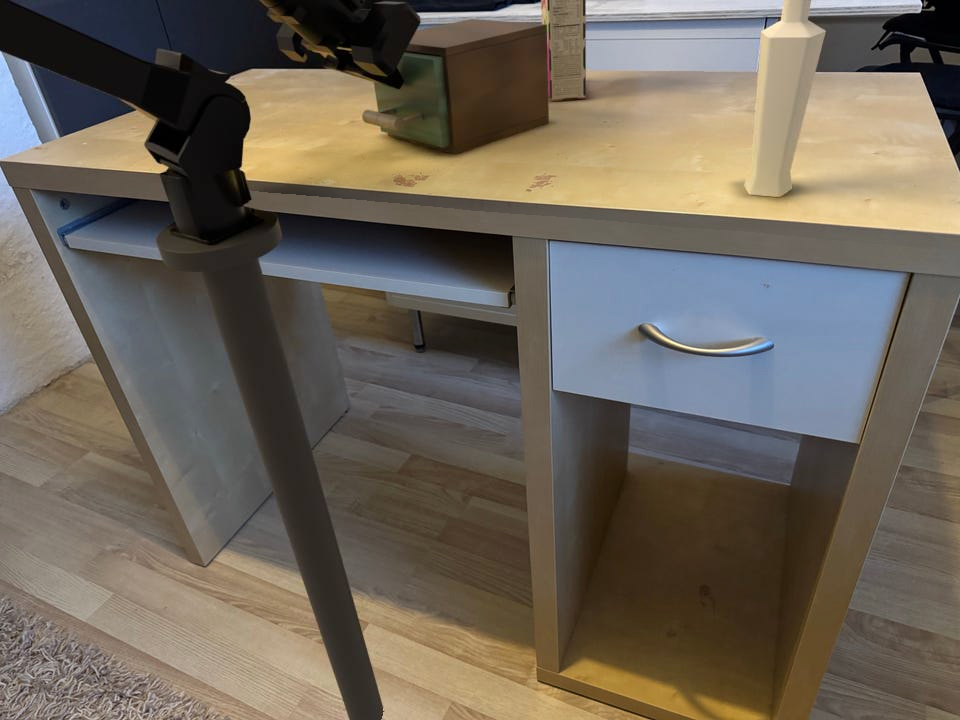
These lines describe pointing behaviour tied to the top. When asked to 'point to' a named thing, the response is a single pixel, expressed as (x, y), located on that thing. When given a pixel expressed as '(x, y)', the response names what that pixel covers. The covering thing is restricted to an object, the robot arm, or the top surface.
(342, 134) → the top surface
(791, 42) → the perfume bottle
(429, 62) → the drawer
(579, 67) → the candy bar box
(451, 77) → the cabinet
